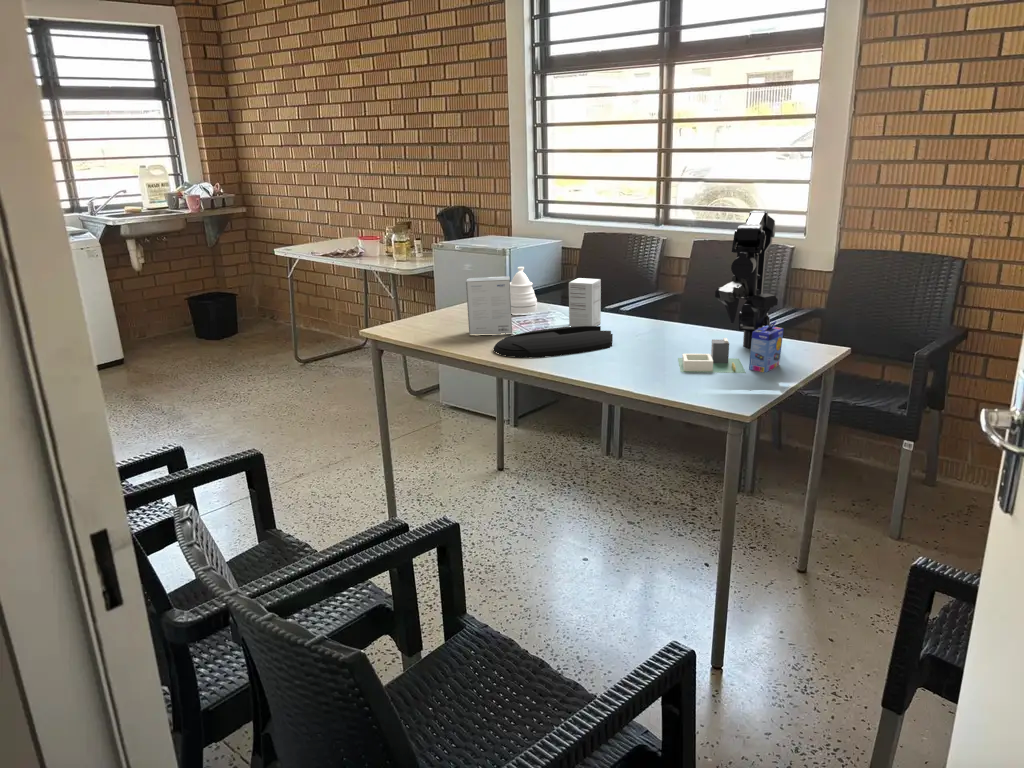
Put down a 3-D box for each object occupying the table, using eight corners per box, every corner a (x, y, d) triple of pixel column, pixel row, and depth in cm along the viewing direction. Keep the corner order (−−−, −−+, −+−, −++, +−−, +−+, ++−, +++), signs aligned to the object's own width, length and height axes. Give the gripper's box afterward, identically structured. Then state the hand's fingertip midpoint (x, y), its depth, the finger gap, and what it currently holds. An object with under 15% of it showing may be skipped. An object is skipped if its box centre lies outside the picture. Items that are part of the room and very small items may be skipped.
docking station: (482, 346, 256) (482, 332, 254) (590, 332, 269) (590, 319, 268) (508, 364, 234) (508, 348, 232) (624, 348, 247) (624, 333, 246)
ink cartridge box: (766, 376, 212) (770, 326, 207) (747, 372, 215) (751, 323, 211) (780, 368, 219) (785, 319, 214) (762, 364, 222) (766, 316, 218)
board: (677, 361, 229) (677, 353, 228) (738, 361, 226) (739, 353, 226) (680, 375, 215) (680, 367, 214) (745, 376, 212) (746, 367, 211)
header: (682, 363, 223) (682, 353, 222) (710, 363, 222) (710, 353, 221) (683, 371, 215) (684, 361, 215) (712, 371, 214) (713, 361, 213)
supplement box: (578, 322, 284) (577, 277, 279) (601, 323, 280) (601, 278, 275) (568, 327, 276) (568, 281, 271) (592, 329, 272) (592, 283, 267)
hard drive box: (512, 330, 275) (510, 276, 269) (512, 335, 267) (510, 279, 261) (470, 331, 275) (467, 277, 269) (468, 336, 268) (465, 281, 262)
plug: (710, 358, 227) (711, 337, 225) (726, 359, 226) (727, 337, 224) (712, 363, 222) (713, 341, 220) (728, 363, 222) (729, 341, 220)
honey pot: (508, 309, 311) (506, 265, 306) (539, 309, 309) (538, 265, 304) (502, 315, 299) (501, 270, 294) (535, 316, 297) (533, 270, 292)
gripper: (701, 270, 215) (699, 324, 220) (750, 280, 199) (747, 337, 204) (731, 266, 220) (728, 318, 225) (780, 275, 204) (776, 330, 209)
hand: (743, 326), depth 215 cm, fingers open, 9 cm apart
